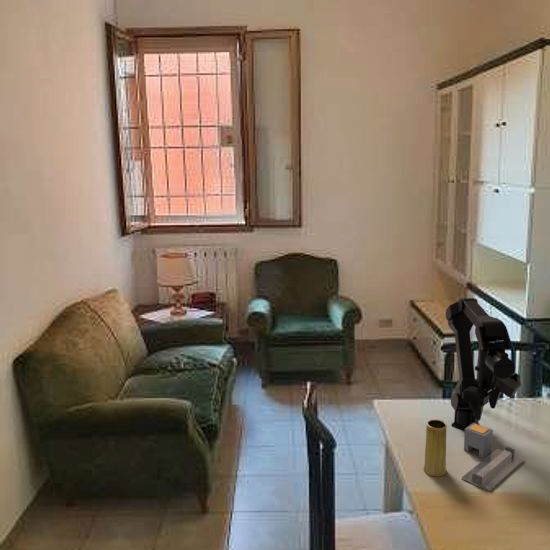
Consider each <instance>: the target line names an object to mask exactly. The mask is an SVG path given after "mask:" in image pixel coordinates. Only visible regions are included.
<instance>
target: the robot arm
mask: <svg viewBox="0 0 550 550" xmlns="http://www.w3.org/2000/svg"><path fill="white" fill-rule="evenodd" d="M445 319H446V320H447V323H448V327H449V328H450V330H451V331H452V332H453V334H454V341H455V351H456V359H457V368H458V371H457V372H458V381H457V383H456V385H455V387H454V390H455V391H454V394H453V395H452V396H451V398H450V406H451V407H452V408H453V410H454V417H453V418H454V419H453V420H454V421H453V422H452V423H451V426H452V427H455V428H457V429H460V430H462V431H465V428H467V427H468V426H470V425H471V424H472V423H476V424H478V425H481V424H480V423H479V421H481V419H482V415H483V411H484V407H485V406H486V405H487V404H489V407H490V409H495V408H496V406H497V404H498V401H499V399H500V396H501V394H504V395H505V396H506V397H507V398H512V397H513V396H514V395H516V394H517V392H518V391H519V388H520V387H521V386H522V381H521V375H520V374H519V373H518V372H517V373H516V372H515V370H516V366H515V363H514V362H513V360H512V359H511V358H509V354H508V353H507V352H506V350H511V344H512V341H511V337H510V334H509V331H508V328H507V326H506V324H505V323H504V322H503V321H502V320H501V319H500V318H498V317H494V316H491V315H490V314H488V313H487V311H486V310H485V309H484V308H483V307H482V306H481V305H480V304H479V302H478V299H477V298H474V297H464V298H463V297H462V298H460V299H458V300H457V301H456V302H454V303H452V304H450V305H449V306H448V307H447V308H446V310H445ZM473 327H475V328H474V334H475V337H476V340H477V343H478V358H477V365H476V366H474V358H473V350H472V342H471V341H472V340H471V330H472V328H473ZM475 371H476V372H477V374H476V377H475Z"/></svg>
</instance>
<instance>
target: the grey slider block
mask: <svg viewBox="0 0 550 550" xmlns="http://www.w3.org/2000/svg"><path fill="white" fill-rule="evenodd" d="M493 433H494V429H491V428H489V427H487V426H484V425H481V424H480V425H478V424H476V423H472V424H471V425H470V426H468V427H467V428H465V430H464V436H463V437H464V439H463V451H464V452H467V453H468V452H470V451H471V450H472V449H473V448H474V449H475V450H476V449H477V450H478V457H479V458H482V459H485V458H486V457H487V455H490V454H491V453H492V447H493V445H492V444H493Z"/></svg>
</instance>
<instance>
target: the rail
mask: <svg viewBox="0 0 550 550" xmlns="http://www.w3.org/2000/svg"><path fill="white" fill-rule="evenodd" d="M515 451H516V450H515V448H513V447H509V446H505V448H504V450H502V449H499V448H496V449H495V450H494V451H493V452H490V453H489V454H488V456H485V457H484V458H483V459H482V460H481V461H480V462H479V463H477V465H475V466H473V468H472V469H470V470H469V471H468V472H467V473H465V474H464V475H463V476H461V480H463V481H465V482H468V483H470V484H471V485H474V486H476V487H478V488H481V489H483V490H485V491H487V492H489V493H490V492H491V491H493V490H494V489H495V488H497V486H498V485H499V484H501V483H502V482H503V481H504V480H505V479H506V478H507V477H509V475H510V474H511V473H513V472H514V471H515V470H516V469H517V468H518V467H520V465H522V464H523V463H524V462H525V459H524V458H522V457H520V456H517V455H515V453H516V452H515Z"/></svg>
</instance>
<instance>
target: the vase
mask: <svg viewBox="0 0 550 550" xmlns="http://www.w3.org/2000/svg"><path fill="white" fill-rule="evenodd" d="M425 427H426V431H425V433H426V435H425V446H424V447H425V448H424V465H423V471H424V472H425V474H427V475H429V476H432V477H442V476H445V475H446V473H447V465H446V464H447V463H446V462H447V459H446V458H447V423H446V422H445V421H444V420H440V419H429V420H428V421H427V422H426V426H425Z"/></svg>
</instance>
